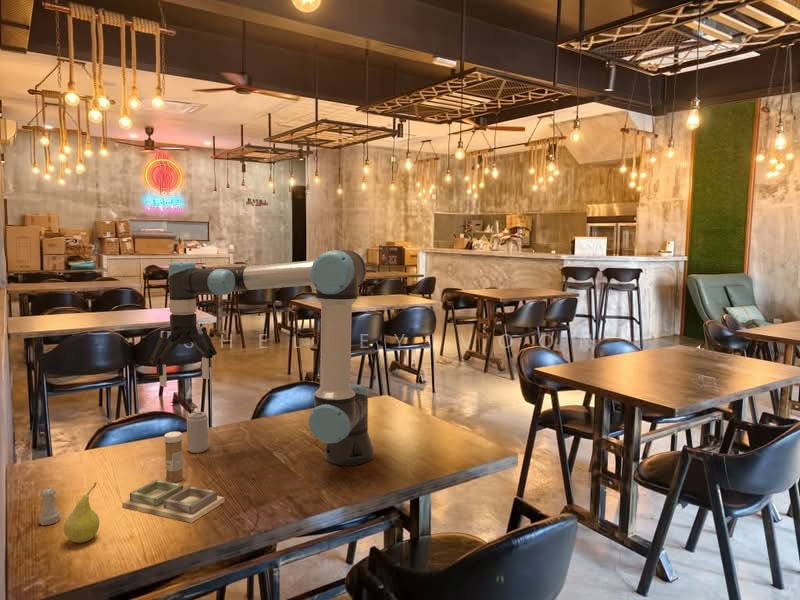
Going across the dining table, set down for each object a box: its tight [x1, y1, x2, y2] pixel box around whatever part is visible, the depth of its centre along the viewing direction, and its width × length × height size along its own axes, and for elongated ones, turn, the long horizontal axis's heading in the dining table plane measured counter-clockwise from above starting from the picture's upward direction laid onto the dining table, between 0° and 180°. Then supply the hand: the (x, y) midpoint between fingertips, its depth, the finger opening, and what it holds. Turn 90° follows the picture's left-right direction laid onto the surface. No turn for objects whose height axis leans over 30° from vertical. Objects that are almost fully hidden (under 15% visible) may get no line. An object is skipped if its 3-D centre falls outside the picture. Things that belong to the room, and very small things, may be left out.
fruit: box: [63, 481, 100, 544], centre depth 126 cm, size 7×8×12 cm
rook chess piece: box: [38, 486, 61, 526], centre depth 134 cm, size 4×4×8 cm
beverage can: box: [186, 411, 209, 454], centre depth 181 cm, size 6×6×12 cm
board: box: [121, 479, 226, 524], centre depth 144 cm, size 22×12×3 cm, turn 69°
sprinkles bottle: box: [164, 431, 184, 483], centre depth 158 cm, size 5×5×13 cm
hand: (185, 382), depth 172 cm, fingers open, 13 cm apart
